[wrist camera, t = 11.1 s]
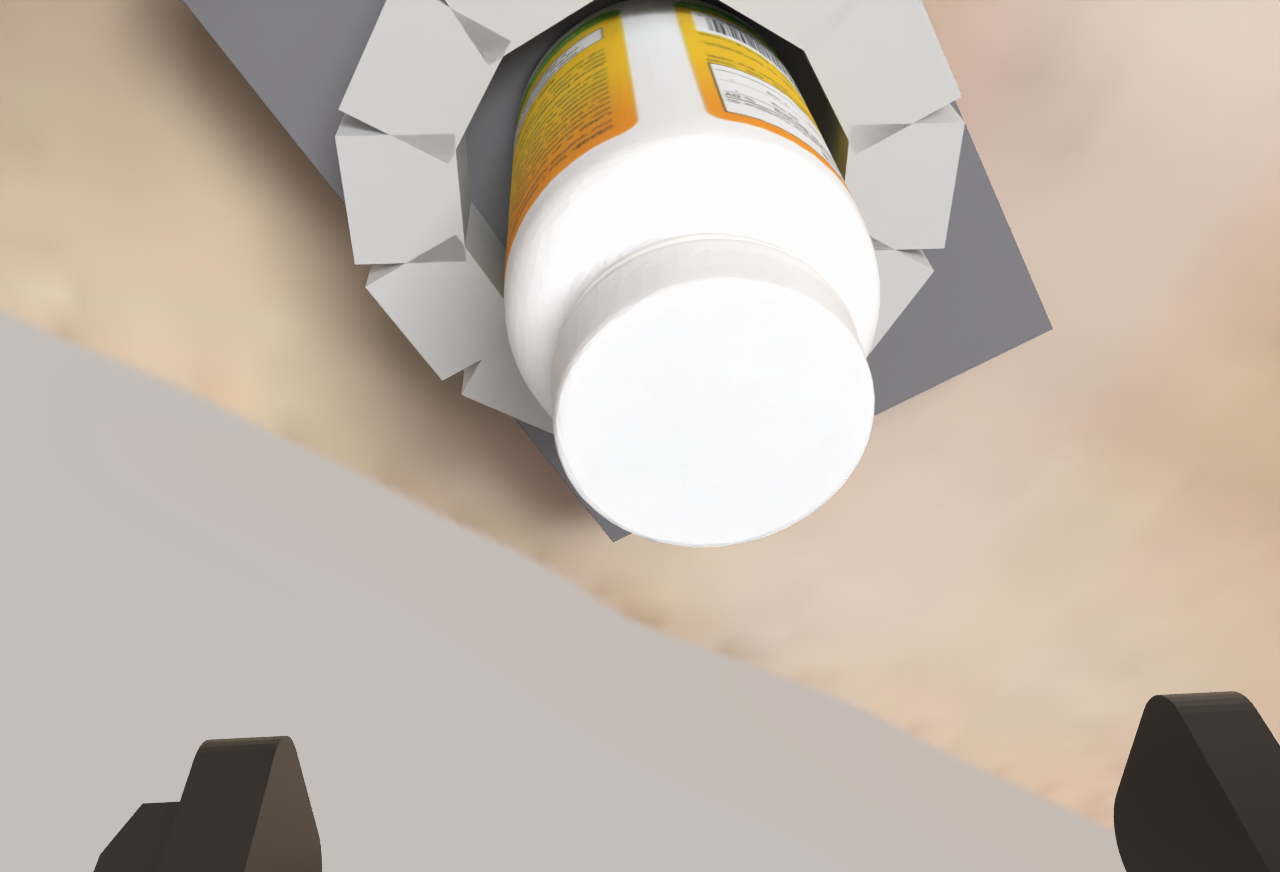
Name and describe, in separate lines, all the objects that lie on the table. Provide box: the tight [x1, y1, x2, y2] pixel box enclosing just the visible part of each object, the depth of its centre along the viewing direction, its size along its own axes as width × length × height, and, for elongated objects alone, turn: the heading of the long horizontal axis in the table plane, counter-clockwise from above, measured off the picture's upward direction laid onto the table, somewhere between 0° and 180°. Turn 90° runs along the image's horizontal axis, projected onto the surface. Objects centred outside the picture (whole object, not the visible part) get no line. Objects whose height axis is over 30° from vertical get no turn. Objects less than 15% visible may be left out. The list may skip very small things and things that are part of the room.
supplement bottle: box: [504, 0, 880, 548], centre depth 18 cm, size 5×5×10 cm
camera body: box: [183, 0, 1053, 542], centre depth 23 cm, size 16×11×6 cm
